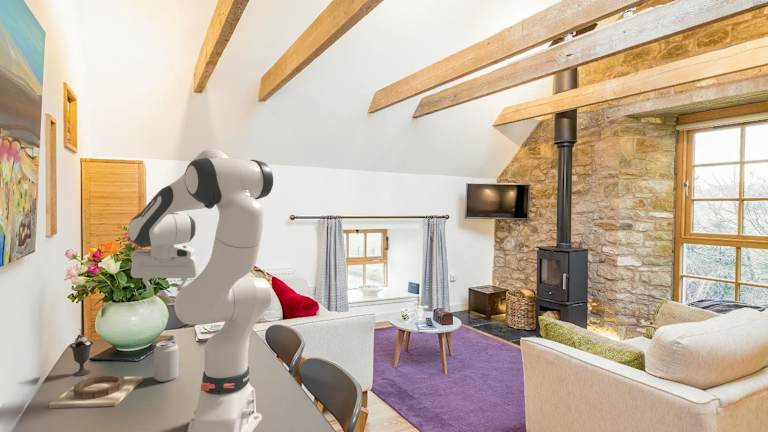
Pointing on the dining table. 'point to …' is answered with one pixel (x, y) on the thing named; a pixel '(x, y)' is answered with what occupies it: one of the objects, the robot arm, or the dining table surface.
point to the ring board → (97, 401)
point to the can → (166, 361)
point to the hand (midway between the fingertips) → (165, 290)
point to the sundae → (81, 353)
